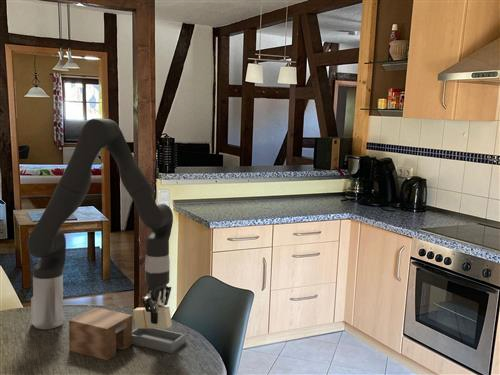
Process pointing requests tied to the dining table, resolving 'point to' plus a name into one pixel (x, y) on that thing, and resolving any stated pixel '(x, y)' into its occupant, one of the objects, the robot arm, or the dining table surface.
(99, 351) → the wooden block
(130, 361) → the dining table surface
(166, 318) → the cream rectangular block
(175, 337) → the tray
